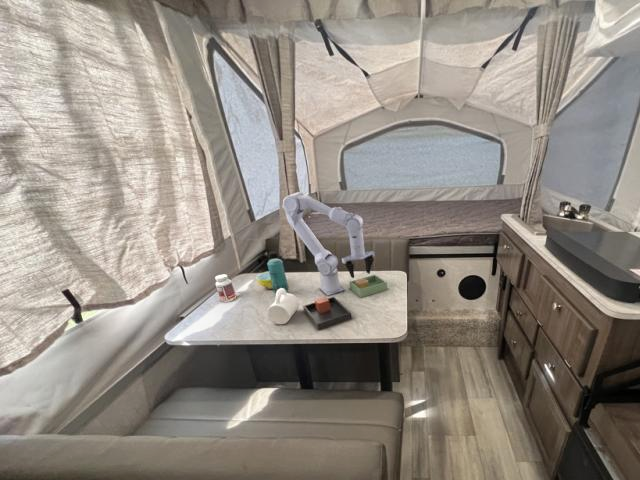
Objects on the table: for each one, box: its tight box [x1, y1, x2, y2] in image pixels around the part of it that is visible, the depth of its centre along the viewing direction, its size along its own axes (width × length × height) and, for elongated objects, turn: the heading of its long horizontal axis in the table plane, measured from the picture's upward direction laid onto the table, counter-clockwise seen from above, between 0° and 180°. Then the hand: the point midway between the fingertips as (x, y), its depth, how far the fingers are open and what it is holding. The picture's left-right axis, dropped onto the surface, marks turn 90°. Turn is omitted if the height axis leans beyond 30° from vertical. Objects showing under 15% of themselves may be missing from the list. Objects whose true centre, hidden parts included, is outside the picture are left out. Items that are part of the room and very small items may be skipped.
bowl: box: [255, 270, 274, 290], centre depth 147 cm, size 11×12×6 cm
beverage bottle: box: [266, 251, 290, 295], centre depth 136 cm, size 6×7×20 cm
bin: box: [349, 274, 388, 298], centre depth 141 cm, size 11×13×4 cm
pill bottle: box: [214, 273, 237, 303], centre depth 137 cm, size 6×6×11 cm
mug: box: [266, 288, 300, 325], centre depth 119 cm, size 8×10×12 cm
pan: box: [302, 296, 352, 331], centre depth 122 cm, size 17×13×2 cm
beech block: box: [355, 277, 369, 289], centre depth 139 cm, size 4×4×4 cm
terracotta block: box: [314, 296, 331, 313], centre depth 124 cm, size 4×4×4 cm
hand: (360, 275), depth 136 cm, fingers open, 7 cm apart
